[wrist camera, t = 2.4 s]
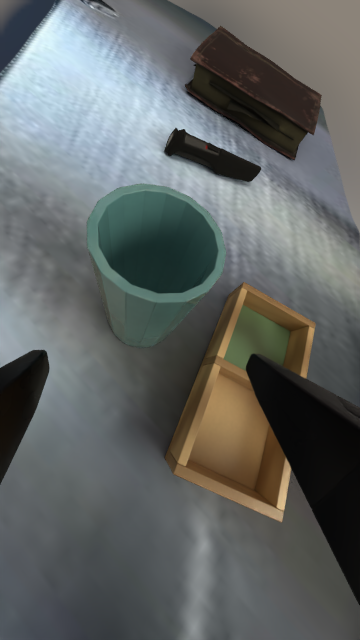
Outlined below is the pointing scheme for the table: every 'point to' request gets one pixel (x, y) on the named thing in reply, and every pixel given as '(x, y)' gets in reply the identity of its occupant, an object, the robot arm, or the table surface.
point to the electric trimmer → (210, 156)
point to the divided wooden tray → (240, 405)
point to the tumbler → (152, 259)
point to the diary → (254, 92)
